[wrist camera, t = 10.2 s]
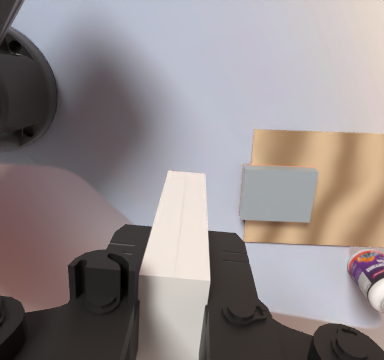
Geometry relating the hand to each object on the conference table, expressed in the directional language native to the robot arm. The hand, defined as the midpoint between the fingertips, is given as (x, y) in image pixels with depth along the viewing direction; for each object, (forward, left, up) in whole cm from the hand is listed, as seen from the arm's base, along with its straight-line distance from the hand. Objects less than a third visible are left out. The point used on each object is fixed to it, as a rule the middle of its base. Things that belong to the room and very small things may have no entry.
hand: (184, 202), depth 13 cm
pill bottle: (+25, -21, -28) cm, 43 cm away
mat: (+18, -10, -27) cm, 34 cm away
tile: (+6, -10, -26) cm, 28 cm away
